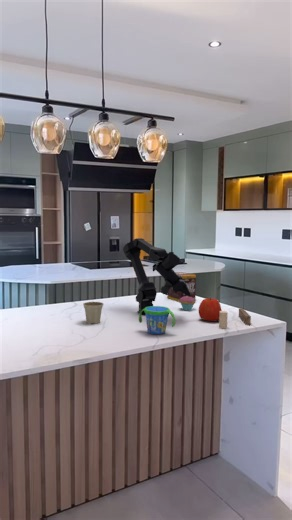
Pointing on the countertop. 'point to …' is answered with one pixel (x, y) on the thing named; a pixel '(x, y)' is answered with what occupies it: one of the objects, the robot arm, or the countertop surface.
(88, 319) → the flower pot
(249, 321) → the batten
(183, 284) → the robot arm
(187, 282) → the supplement box
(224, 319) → the beige upright piece
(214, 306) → the apple
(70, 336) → the countertop surface
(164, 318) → the snack cup
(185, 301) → the cupcake
